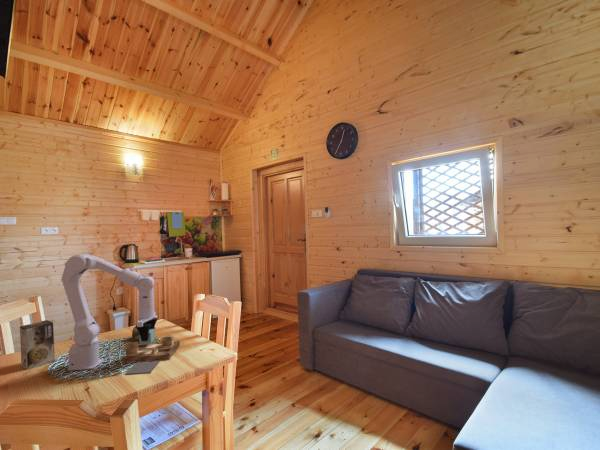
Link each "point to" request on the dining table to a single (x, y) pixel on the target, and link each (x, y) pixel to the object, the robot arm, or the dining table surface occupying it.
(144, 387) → the dining table surface
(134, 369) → the felt pad
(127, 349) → the strip
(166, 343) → the strip
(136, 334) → the kendama
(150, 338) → the cube
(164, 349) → the lane board
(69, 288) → the robot arm
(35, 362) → the coffee box
